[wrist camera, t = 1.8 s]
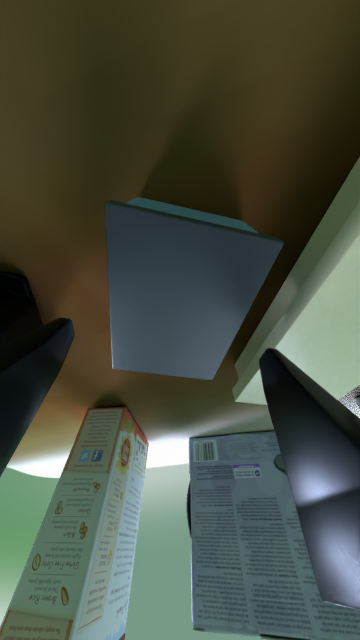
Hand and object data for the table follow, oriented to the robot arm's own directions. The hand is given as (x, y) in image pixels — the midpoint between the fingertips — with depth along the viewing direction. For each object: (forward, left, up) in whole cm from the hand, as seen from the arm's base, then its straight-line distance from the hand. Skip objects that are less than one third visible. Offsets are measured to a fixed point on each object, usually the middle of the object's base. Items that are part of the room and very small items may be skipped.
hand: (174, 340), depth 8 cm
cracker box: (-4, -27, -7) cm, 28 cm away
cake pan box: (+16, -27, -7) cm, 33 cm away
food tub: (0, 0, -7) cm, 7 cm away
